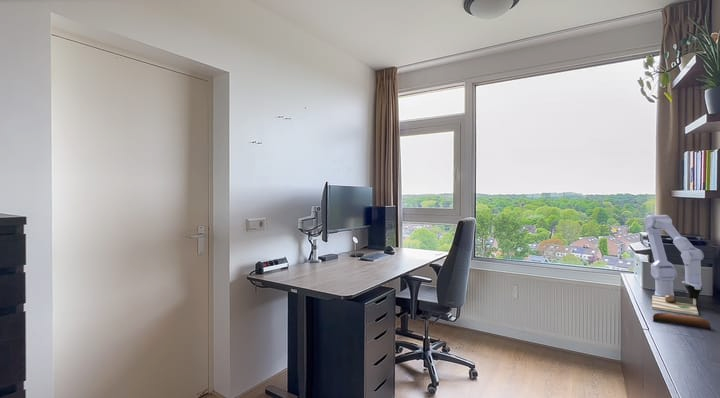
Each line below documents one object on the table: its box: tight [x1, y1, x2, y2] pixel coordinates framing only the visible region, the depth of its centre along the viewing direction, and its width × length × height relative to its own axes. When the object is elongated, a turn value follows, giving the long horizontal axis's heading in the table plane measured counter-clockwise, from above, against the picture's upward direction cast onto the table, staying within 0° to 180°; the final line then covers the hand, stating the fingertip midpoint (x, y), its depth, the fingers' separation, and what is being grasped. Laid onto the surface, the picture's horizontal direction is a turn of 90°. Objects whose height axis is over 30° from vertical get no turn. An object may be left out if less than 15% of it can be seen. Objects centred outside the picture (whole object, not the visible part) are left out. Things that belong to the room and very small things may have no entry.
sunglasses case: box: [652, 312, 711, 330], centre depth 146 cm, size 18×7×7 cm
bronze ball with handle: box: [665, 295, 697, 306], centre depth 167 cm, size 11×4×3 cm, turn 49°
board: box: [651, 295, 699, 316], centre depth 167 cm, size 22×16×1 cm
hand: (693, 300), depth 167 cm, fingers closed
